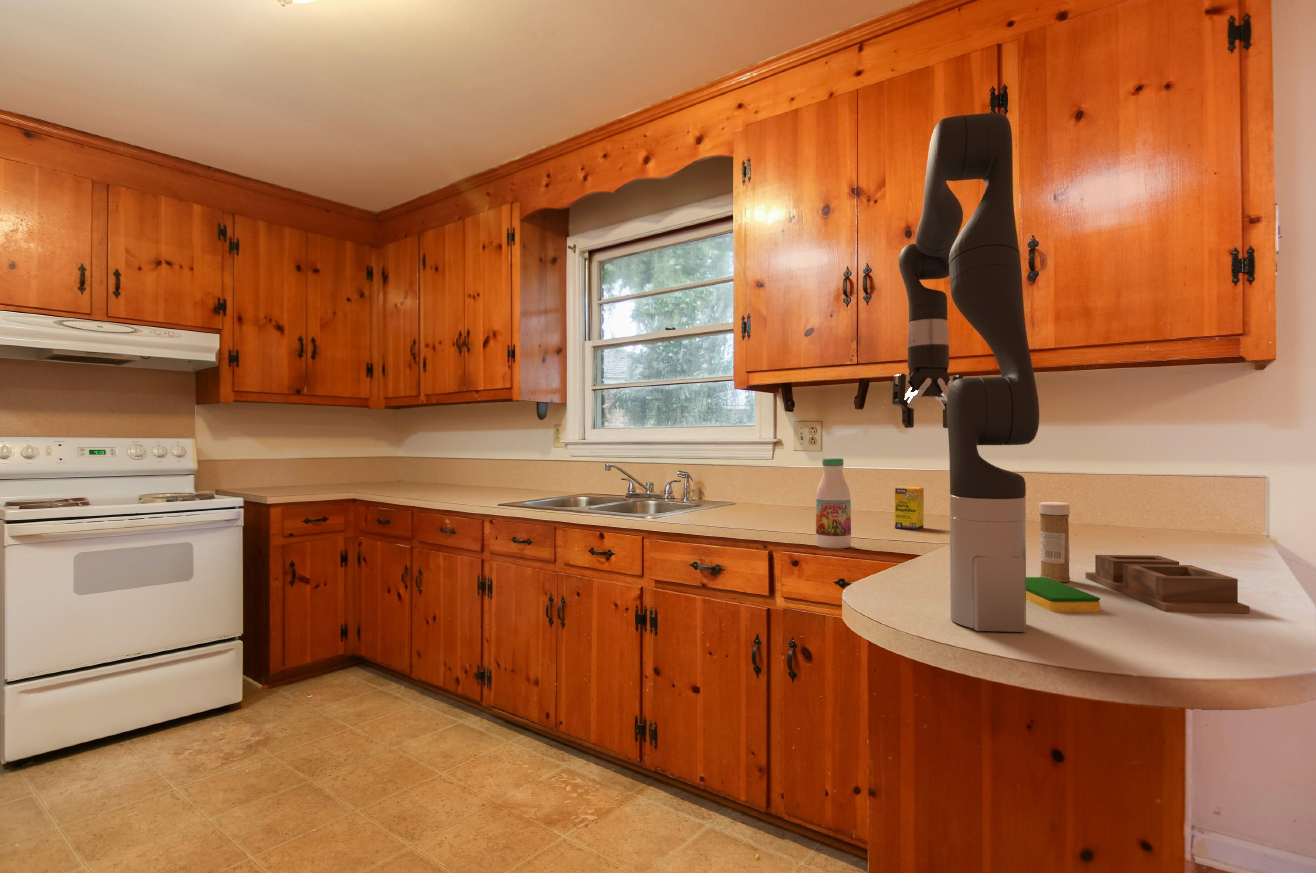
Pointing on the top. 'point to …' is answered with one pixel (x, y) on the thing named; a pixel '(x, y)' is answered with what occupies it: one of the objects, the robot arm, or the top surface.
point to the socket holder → (1168, 584)
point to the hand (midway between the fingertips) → (928, 427)
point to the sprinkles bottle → (1054, 540)
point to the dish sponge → (1059, 596)
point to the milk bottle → (833, 507)
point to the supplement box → (909, 507)
